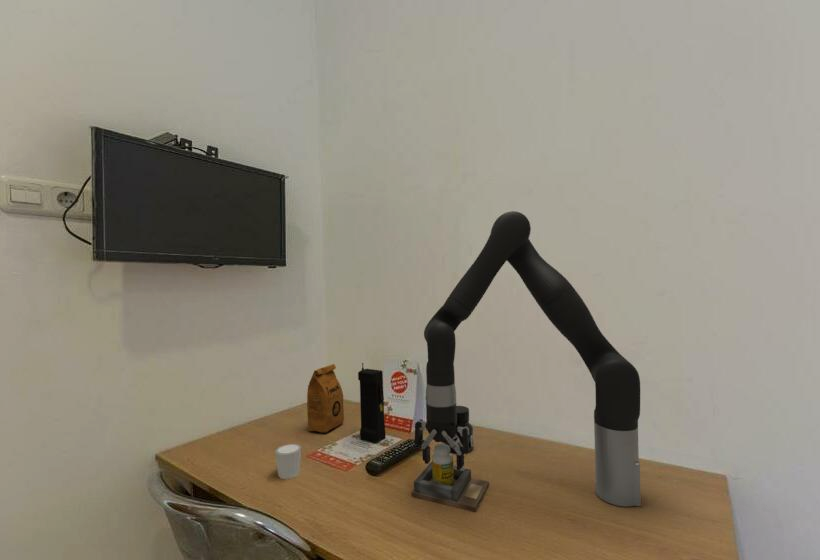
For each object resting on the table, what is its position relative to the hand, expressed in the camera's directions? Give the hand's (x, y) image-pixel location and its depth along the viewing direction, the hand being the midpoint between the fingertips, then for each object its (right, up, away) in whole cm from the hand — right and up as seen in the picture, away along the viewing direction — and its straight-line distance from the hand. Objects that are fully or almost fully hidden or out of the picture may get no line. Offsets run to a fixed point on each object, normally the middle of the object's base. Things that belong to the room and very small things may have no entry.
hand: (443, 465), depth 98 cm
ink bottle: (+7, -6, +23) cm, 25 cm away
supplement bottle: (0, -5, 0) cm, 5 cm away
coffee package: (-38, -7, +43) cm, 58 cm away
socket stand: (+2, -6, -1) cm, 6 cm away
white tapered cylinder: (-42, -7, +10) cm, 43 cm away
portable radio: (-20, -7, +32) cm, 38 cm away
